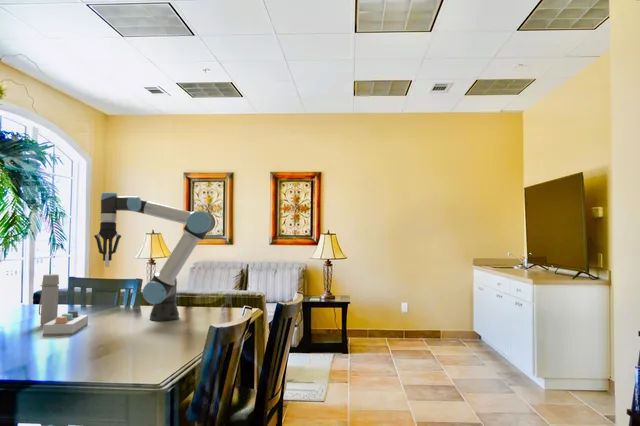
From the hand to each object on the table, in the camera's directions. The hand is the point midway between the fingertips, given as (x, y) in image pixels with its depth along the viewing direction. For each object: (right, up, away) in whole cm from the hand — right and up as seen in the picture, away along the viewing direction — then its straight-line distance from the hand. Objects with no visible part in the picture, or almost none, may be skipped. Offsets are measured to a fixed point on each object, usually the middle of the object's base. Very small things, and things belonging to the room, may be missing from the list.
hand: (107, 267), depth 223 cm
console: (-10, -28, -19) cm, 35 cm away
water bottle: (-27, -28, -7) cm, 40 cm away
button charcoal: (-11, -26, -12) cm, 30 cm away
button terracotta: (-8, -25, -26) cm, 37 cm away
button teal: (-10, -25, -19) cm, 33 cm away
